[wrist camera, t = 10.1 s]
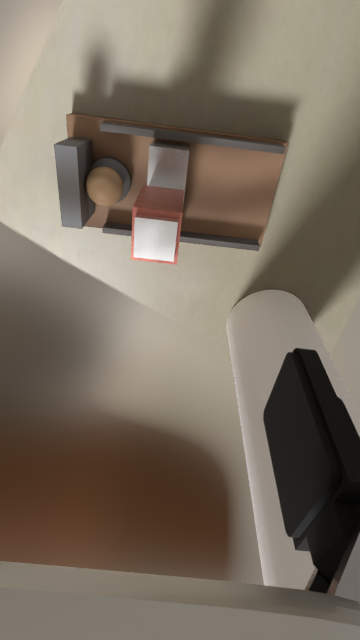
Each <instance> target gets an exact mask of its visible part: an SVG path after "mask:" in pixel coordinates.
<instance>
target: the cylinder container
mask: <svg viewBox="0 0 360 640" xmlns="http://www.w3.org/2000/svg"><path fill="white" fill-rule="evenodd" d="M227 333H228V340H229V347H230V354H231V360H232V367H233V374H234V381H235V387H236V395H237V401H238V408H239V415H240V422H241V429H242V436H243V442H244V449H245V456H246V463H247V470H248V477H249V484H250V491H251V497H252V504H253V510H254V518H255V525H256V532H257V539H258V544H259V552H260V559H261V565H262V573H263V580H264V585H265V586H274V587H283V588H292V589H301V590H305V588H306V586H307V584H308V581H309V579H310V577H311V575H312V573H313V571H314V569H315V566H314V565H313V562H312V558H311V554H310V551H298V550H295V547H294V542H293V537H288V535H287V534H286V531H285V527H284V522H283V517H282V512H281V507H280V502H279V496H278V491H277V486H276V481H275V476H274V471H273V466H272V461H271V456H270V451H269V446H268V441H267V436H266V431H265V426H264V421H263V413H264V409H265V406H266V404H267V401H268V399H269V396H270V394H271V391H272V389H273V386H274V384H275V381H276V379H277V376H278V374H279V371H280V369H281V366H282V364H283V361H284V359H285V356H286V354H287V353H288V352H293V350H294V349H295V348H301V349H310V350H315V351H317V353H318V355H319V357H320V359H321V362H322V364H323V366H324V368H325V370H326V373H327V375H328V377H329V379H330V382H331V384H332V386H333V388H334V391H335V393H336V395H337V397H339V398H340V399H341V400H342V401H343V403H344V404H345V406H346V409H347V411H348V413H349V415H350V417H351V419H352V422H353V424H354V426H355V428H356V430H357V432H358V435H359V437H360V413H359V411H358V409H357V407H356V405H355V404H354V402H353V400H352V398H351V396H350V394H349V392H348V390H347V388H346V386H345V384H344V382H343V380H342V378H341V376H340V374H339V372H338V370H337V369H336V367H335V365H334V363H333V361H332V359H331V357H330V355H329V353H328V351H327V349H326V347H325V345H324V343H323V341H322V339H321V337H320V335H319V334H318V332H317V330H316V328H315V326H314V324H313V322H312V320H311V318H310V316H309V314H308V312H307V310H306V308H305V306H304V304H303V303H302V302H301V301H300V300H299V299H298V298H297V297H296V296H294V295H293V294H291V293H288V292H286V291H281V290H262V291H258V292H255V293H252V294H250V295H248V296H246V297H245V298H243V299H242V300H240V301H239V302H238V303H237V304H236V305H235V306H234V307H233V309H232V310H231V312H230V314H229V316H228V319H227Z"/></svg>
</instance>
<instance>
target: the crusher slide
mask: <svg viewBox="0 0 360 640" xmlns="http://www.w3.org/2000/svg"><path fill="white" fill-rule="evenodd" d="M189 148H190V145H185V144H178V143H170V142H162V141H154V140H153V141H152V142H151V144H150V145H149V158H148V178H147V185H143V187H142V189H141V191H140V193H139V195H138V197H137V199H136V201H135V203H134V205H133V211H132V248H131V259H132V260H141V261H150V262H159V263H167V264H176V265H177V257H178V248H179V239H180V231H181V222H182V213H183V203H184V194H185V185H186V176H187V168H188V159H189Z"/></svg>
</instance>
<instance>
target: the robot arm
mask: <svg viewBox="0 0 360 640" xmlns="http://www.w3.org/2000/svg"><path fill="white" fill-rule="evenodd" d="M263 421H264V426H265V431H266V436H267V441H268V446H269V451H270V456H271V461H272V466H273V471H274V476H275V481H276V486H277V491H278V496H279V502H280V507H281V512H282V517H283V522H284V527H285V531H286V534H287V535H288V537H293V542H294V547H295V550H298V551H310V554H311V558H312V562H313V565H314V566H315V569H314V571H313V573H312V575H311V577H310V579H309V581H308V584H307V586H306V588H305V590H301V589H292V588H283V587H274V586H265V585H256V584H247V583H237V582H228V581H218V580H207V579H195V578H185V577H173V576H163V575H152V574H141V573H130V572H119V571H108V570H96V569H84V568H73V567H62V566H50V565H38V564H27V563H15V562H4V561H0V640H360V437H359V435H358V432H357V430H356V428H355V426H354V424H353V422H352V419H351V417H350V415H349V413H348V411H347V409H346V406H345V404H344V403H343V401H342V400H341V399H340V398H339V397H337V395H336V393H335V391H334V388H333V386H332V384H331V382H330V379H329V377H328V375H327V373H326V370H325V368H324V366H323V364H322V362H321V359H320V357H319V355H318V353H317V351H315V350H310V349H301V348H295V349H294V350H293V352H288V353H287V354H286V356H285V359H284V361H283V364H282V366H281V369H280V371H279V374H278V376H277V379H276V381H275V384H274V386H273V389H272V391H271V394H270V396H269V399H268V401H267V404H266V406H265V409H264V413H263Z"/></svg>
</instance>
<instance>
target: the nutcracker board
mask: <svg viewBox="0 0 360 640" xmlns="http://www.w3.org/2000/svg"><path fill="white" fill-rule="evenodd" d="M66 119H67V132H68V139H65V140H63V141H61V142H58V143H56V144H54V149H55V159H56V169H57V179H58V189H59V200H60V210H61V220H62V227H71V228H79V229H82V228H83V227H84V226H88V227H96V228H103V233H108V234H117V235H126V236H132V211H133V205H134V203H135V201H136V199H137V197H138V195H139V193H140V191H141V189H142V187H143V185H147V178H148V158H149V145H150V144H151V142H152V141H153V140H154V141H162V142H170V143H178V144H185V145H190V148H189V159H188V168H187V176H186V185H185V194H184V203H183V213H182V222H181V231H180V239H179V242H186V243H194V244H203V245H212V246H220V247H229V248H238V249H246V250H255V251H259V248H260V247H261V244H262V240H263V236H264V233H265V229H266V225H267V221H268V218H269V214H270V210H271V206H272V203H273V199H274V195H275V191H276V188H277V184H278V180H279V176H280V173H281V169H282V165H283V161H284V158H285V154H286V150H287V146H288V143H287V142H285V141H282V140H274V139H266V138H259V137H251V136H243V135H236V134H228V133H220V132H213V131H205V130H197V129H189V128H182V127H174V126H166V125H159V124H151V123H143V122H136V121H128V120H120V119H113V118H105V117H97V116H89V115H82V114H74V113H70V114H66Z"/></svg>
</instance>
